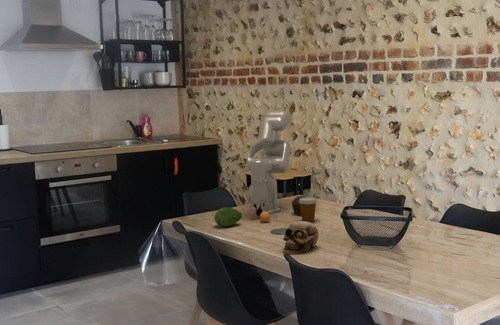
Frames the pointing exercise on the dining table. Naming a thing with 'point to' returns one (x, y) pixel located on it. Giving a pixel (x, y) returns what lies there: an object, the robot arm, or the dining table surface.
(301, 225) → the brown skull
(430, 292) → the dining table surface
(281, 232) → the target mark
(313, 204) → the disposable coffee cup
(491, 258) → the dining table surface
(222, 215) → the fruit
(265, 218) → the ball
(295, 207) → the muffin
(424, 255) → the dining table surface
